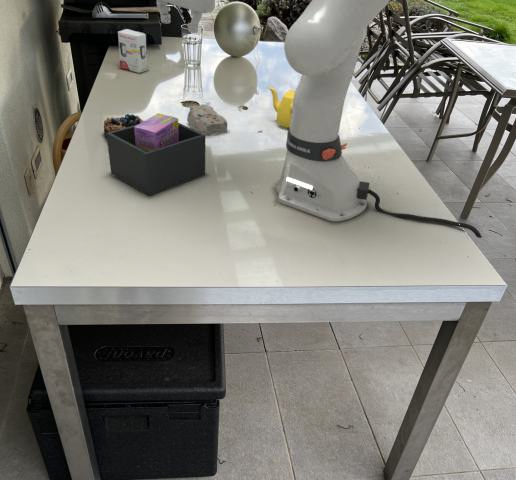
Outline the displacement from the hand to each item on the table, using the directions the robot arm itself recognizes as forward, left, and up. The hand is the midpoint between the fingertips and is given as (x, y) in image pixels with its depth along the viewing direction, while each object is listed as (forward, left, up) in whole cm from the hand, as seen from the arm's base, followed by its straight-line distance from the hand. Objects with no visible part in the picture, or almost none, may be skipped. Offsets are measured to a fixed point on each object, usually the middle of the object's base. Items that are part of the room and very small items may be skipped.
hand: (179, 27), depth 122 cm
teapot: (-6, -39, -29) cm, 49 cm away
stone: (+8, -16, -29) cm, 35 cm away
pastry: (+16, +6, -29) cm, 34 cm away
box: (-7, +13, -28) cm, 32 cm away
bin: (-7, +14, -29) cm, 33 cm away
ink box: (+63, -32, -29) cm, 77 cm away
